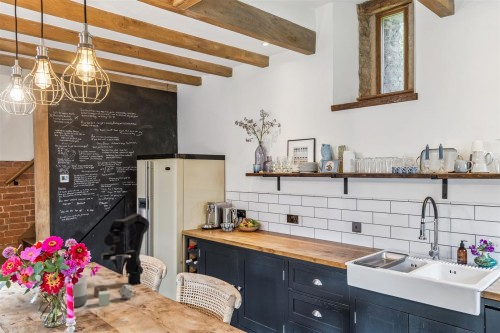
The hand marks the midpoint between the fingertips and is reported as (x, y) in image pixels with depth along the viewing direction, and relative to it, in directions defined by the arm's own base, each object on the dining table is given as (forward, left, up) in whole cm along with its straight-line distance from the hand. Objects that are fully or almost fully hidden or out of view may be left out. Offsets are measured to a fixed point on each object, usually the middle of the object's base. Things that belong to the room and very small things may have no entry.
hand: (119, 270), depth 217 cm
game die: (-1, +13, -13) cm, 18 cm away
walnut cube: (+10, +1, -13) cm, 16 cm away
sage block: (+11, +15, -13) cm, 22 cm away
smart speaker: (+23, +10, -13) cm, 28 cm away
